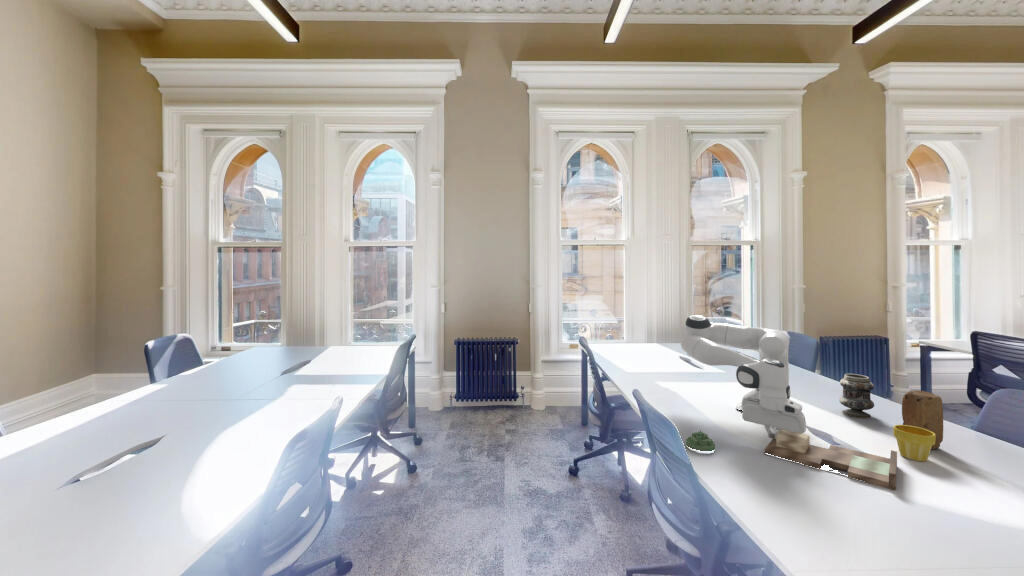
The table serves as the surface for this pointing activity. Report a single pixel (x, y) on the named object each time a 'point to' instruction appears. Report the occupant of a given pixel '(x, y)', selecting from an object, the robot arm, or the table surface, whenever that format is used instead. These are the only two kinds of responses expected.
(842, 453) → the box
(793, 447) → the maple block
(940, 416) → the block
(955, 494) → the table surface
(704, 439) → the decorative artifact
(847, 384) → the apothecary jar
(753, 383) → the robot arm
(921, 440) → the plant pot
